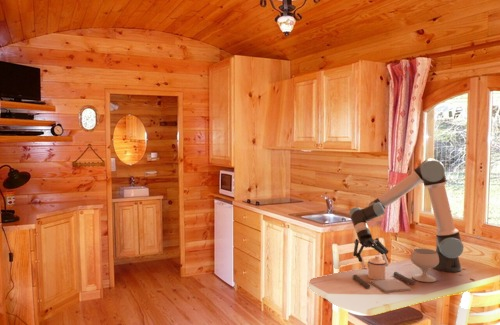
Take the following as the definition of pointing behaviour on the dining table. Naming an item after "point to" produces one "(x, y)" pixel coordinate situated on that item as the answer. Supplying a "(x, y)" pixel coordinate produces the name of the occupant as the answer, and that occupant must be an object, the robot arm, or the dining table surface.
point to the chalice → (424, 263)
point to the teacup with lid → (376, 268)
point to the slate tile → (390, 285)
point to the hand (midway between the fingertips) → (375, 266)
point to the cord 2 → (403, 278)
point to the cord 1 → (361, 281)
